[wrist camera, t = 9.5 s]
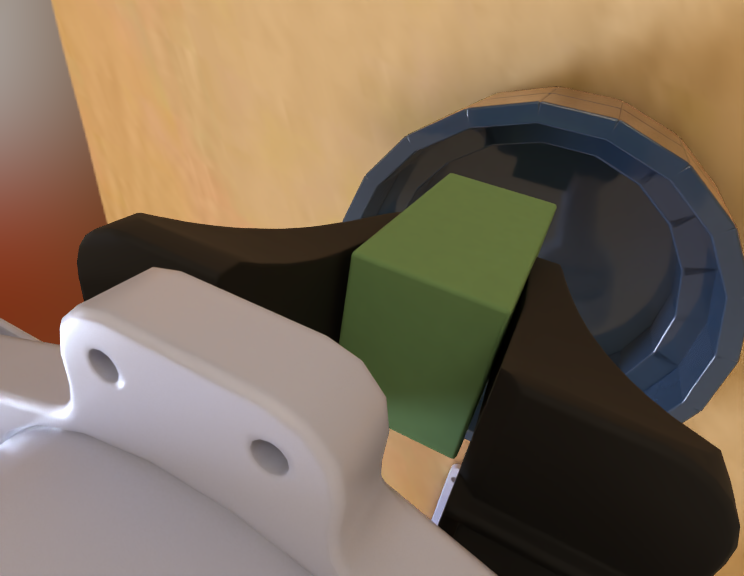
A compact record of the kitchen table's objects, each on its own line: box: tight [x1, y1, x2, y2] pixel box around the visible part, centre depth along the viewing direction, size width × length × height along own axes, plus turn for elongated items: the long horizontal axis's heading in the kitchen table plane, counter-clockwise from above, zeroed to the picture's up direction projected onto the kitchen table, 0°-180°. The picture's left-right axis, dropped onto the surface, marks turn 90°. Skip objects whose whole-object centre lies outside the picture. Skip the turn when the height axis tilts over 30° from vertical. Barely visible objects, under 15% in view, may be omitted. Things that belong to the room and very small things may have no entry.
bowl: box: [343, 86, 744, 441], centre depth 18 cm, size 13×13×4 cm
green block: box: [339, 173, 557, 459], centre depth 11 cm, size 4×3×6 cm
